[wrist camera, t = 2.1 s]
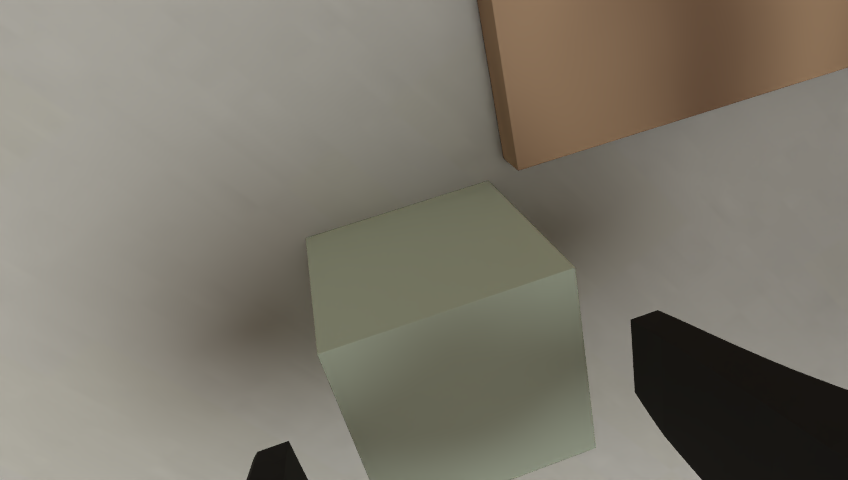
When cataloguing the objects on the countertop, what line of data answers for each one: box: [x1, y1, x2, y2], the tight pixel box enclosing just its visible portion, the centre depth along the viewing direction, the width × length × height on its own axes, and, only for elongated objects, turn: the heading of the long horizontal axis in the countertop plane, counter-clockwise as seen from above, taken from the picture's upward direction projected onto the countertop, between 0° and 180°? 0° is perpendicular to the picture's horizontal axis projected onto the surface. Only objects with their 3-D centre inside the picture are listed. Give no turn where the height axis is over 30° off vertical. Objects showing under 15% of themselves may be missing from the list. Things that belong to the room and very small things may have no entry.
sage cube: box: [306, 181, 596, 480], centre depth 14 cm, size 5×5×5 cm
